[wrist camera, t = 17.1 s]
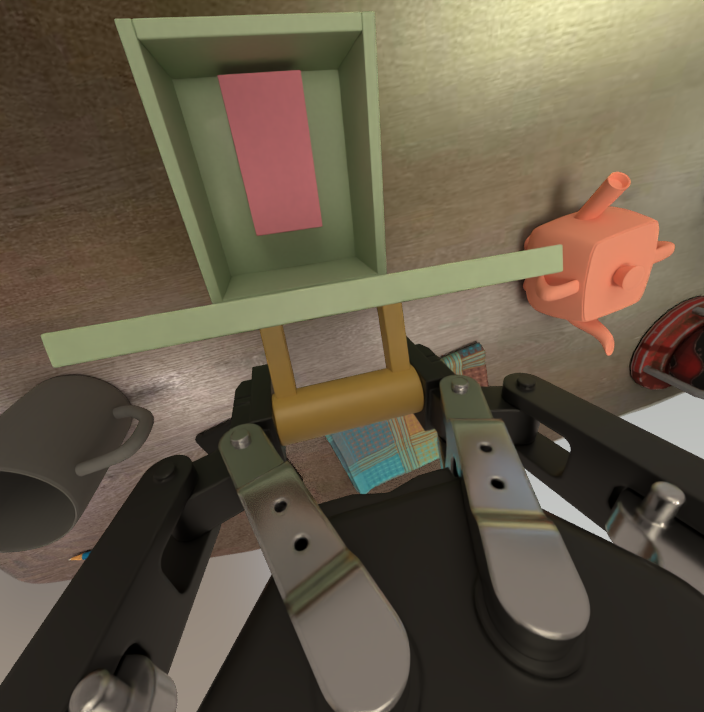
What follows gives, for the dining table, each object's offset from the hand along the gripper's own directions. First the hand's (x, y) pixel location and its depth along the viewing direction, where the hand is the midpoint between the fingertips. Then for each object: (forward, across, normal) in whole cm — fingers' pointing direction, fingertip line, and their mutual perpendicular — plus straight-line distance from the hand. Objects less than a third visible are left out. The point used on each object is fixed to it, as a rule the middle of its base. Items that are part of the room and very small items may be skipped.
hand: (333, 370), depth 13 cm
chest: (+20, 0, -7) cm, 21 cm away
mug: (+20, +22, +11) cm, 32 cm away
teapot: (+20, -30, +4) cm, 36 cm away
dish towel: (+20, -12, +24) cm, 34 cm away
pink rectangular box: (+19, 0, -9) cm, 21 cm away
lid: (+4, 0, -2) cm, 5 cm away
